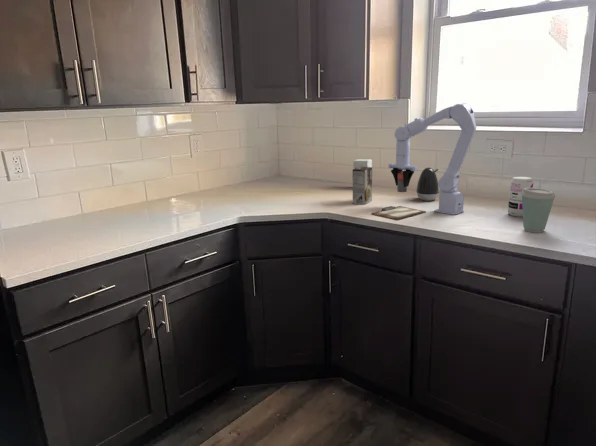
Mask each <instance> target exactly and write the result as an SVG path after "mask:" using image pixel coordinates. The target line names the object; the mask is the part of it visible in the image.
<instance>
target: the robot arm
mask: <svg viewBox="0 0 596 446" xmlns="http://www.w3.org/2000/svg"><path fill="white" fill-rule="evenodd" d="M444 119H447V120H450V119H452V120H454V122H455V123H457V124H458V126H459V128H460V130H461V131H460V134H459V136H458V140H457V141H456V142H457V143H456V144H455V148H454V149H453V153H452V156H451V158H450V161H449V163H448V165H447V168H446V169H445V171H444V173H443V175H442V177H440V178H439V180H438V185H439V193H438V195H439V196H438V208H436V209H434V212H437V213H443V214H448V215H451V216H452V215H454V216H455V215H457V214H461V213H464V212H465V210H464V203H465V195H464V194H463V193H462V192H460V191H459V189H458V185H460V175H461V169H462V167H463V164H464V161H465V159H466V156H467V153H468V151H469V148H470V146H471V143H472V141H473V138H474V135H475V133H476V130H477V124H476V119H475V111H474V109H473V108H472V106H471V105H470V104H468V103H466V102H465V103H464V102H463V103H456V104H454V105H452V106H449V107H446V108H443V109H441V110H439V111H437V112H435V113H433V114H432V115H429V116H428V117H426V118H423V117H415V118H414V120H413V121H411V122H409V123H404V125H403V126H399V127H398V128H396V129H395V130H394V137H395V139H396V146H395V147H396V148H395V151H396V152H395V153H396V154H395V155H396V156H395V163H392V162H391V163H388V169H391V170H390V172H391V174H392V175H393V180H394V182H395V186H397V185H398V179H397V175H398V173H403V177H404V187H407V188H408V187H409V185H410V181H411V179H412V177H413V175H414V173H415V172H417V171H418V166H417V165H413V164H410V156H411V155H410V154H411V152H410V150H411V138H412V137H415V136H417V135H419V134H421V133H423V132H426V131H427V129H428V127H429V126H431V125H434V124H436V123H438V122H440V121H442V120H444Z"/></svg>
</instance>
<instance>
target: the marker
mask: <svg viewBox="0 0 596 446" xmlns="http://www.w3.org/2000/svg"><path fill="white" fill-rule="evenodd" d="M397 179H398V185H397V190H396V191H397V192H398V193H407V192H408V191H407V189H408V187H404V177H403V173H398V175H397Z"/></svg>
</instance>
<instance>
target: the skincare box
mask: <svg viewBox="0 0 596 446" xmlns="http://www.w3.org/2000/svg"><path fill="white" fill-rule="evenodd" d="M352 162H353V169H355V168H358V167H372V168H373V160H372V159H370V158H369V159H368V158H366V159H365V158H361V159H360V158H357V159H354V160H353V161H352Z"/></svg>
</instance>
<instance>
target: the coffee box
mask: <svg viewBox="0 0 596 446" xmlns="http://www.w3.org/2000/svg"><path fill="white" fill-rule="evenodd" d="M372 201H373V166H372V167H358V168H355V169H354V168H353V169H352V204H354V205H363V206H365V205H367V204H368V203H370V202H372Z"/></svg>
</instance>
